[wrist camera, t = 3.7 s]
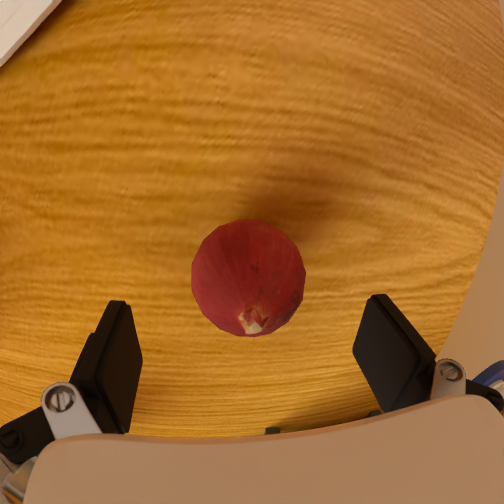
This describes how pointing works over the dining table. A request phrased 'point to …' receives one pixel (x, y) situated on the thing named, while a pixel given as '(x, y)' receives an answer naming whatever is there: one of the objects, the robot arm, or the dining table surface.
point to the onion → (248, 278)
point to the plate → (20, 22)
